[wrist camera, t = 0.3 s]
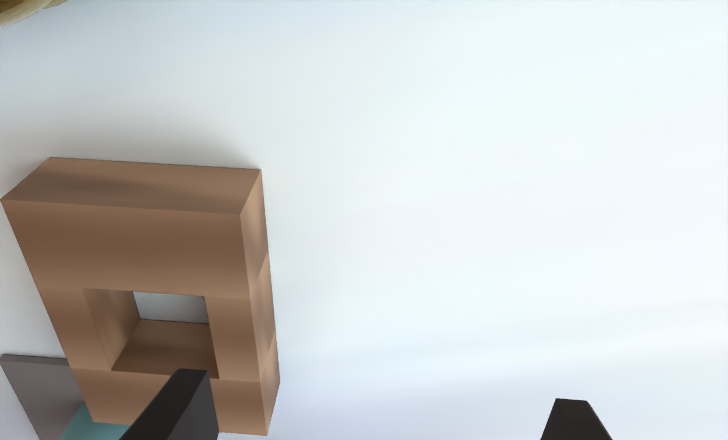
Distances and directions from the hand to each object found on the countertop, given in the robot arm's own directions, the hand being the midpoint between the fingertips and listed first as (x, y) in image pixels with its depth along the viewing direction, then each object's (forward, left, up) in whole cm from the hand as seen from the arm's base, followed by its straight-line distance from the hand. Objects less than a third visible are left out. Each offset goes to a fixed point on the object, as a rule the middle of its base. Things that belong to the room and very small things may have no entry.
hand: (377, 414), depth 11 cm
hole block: (-6, +9, -10) cm, 15 cm away
